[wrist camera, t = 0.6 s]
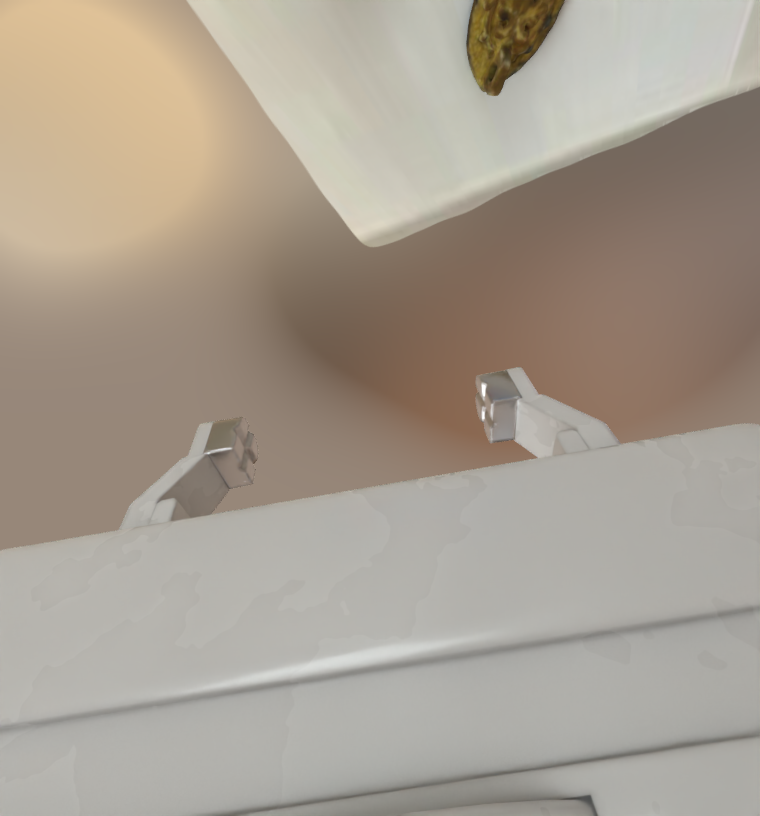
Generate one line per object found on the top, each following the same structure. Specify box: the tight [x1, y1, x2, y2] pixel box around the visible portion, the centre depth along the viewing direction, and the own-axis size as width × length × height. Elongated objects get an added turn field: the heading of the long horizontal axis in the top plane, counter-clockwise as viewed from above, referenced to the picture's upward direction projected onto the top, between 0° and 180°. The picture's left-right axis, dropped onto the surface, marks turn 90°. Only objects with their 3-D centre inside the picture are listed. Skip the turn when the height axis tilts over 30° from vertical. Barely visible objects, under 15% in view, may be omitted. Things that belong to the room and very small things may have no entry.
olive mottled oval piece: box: [467, 0, 565, 96], centre depth 43 cm, size 9×5×15 cm
